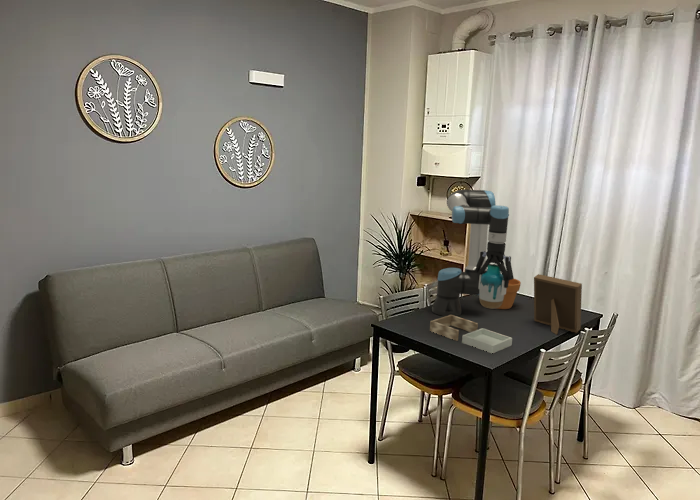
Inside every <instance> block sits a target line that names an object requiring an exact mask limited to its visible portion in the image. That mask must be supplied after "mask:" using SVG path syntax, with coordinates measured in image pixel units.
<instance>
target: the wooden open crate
mask: <svg viewBox="0 0 700 500" xmlns="http://www.w3.org/2000/svg"><path fill="white" fill-rule="evenodd" d="M478 327H479V323H478V322H475V321H471V320H469V319H466V318H462V317H459V316H454V315H448V316H442V317H439V318H435V319H434V320H430V323H429V332H430V331H431V333H433V332H434V334H436V333H437V335H439V336H441V335H442V337H444V336H445V338H447V339H451V340H452V339H453V341H456V342H458V341H459V335H460V334H459V333H460V330H464V331H466V332H468V333H470V332H473V331H476V330H479V329H478ZM456 328H458V329H456ZM459 329H460V330H459Z"/></svg>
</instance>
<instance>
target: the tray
mask: <svg viewBox="0 0 700 500" xmlns="http://www.w3.org/2000/svg"><path fill="white" fill-rule="evenodd" d="M461 344H464V345H467V346H470V347H472V346H473V347H472V348H475V347H476V349H478V350H481V351H483V350H484V352H486V351H487V353H488V354H492V353H493V354H495V353H497V352H500V351H502V350H504V349H506V348H509V347H511V346H513V345H512V344H513V337H510V336H507V335H504V334H501V333H499V332H495V331H492V330H489V329H487V328H484V327H483V328H482V327H481V328H479V329H477V330H476V331H473V332H468V333H466V334H462V337H461Z"/></svg>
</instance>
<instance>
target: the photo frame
mask: <svg viewBox="0 0 700 500" xmlns="http://www.w3.org/2000/svg"><path fill="white" fill-rule="evenodd" d="M582 288H583V283H581V282H576V281H572V280H566V279H562V278H558V277H554V276H549V275H545V274H540V273H538V274H536V275H535V276H534V277H533V312H534V313H533V314H534V315H533V319H534V320H533V321H534V322H537V323H541V324H544V325H548V326H550V332H551V333H553V334H555V335H558V333H559V329H561V330H564V329H565V331H569V332H571V333H575V334H577V333H579V331H580V330H581V328H582V321H581V320H582V293H583V292H582V291H583V289H582Z"/></svg>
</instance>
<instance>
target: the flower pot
mask: <svg viewBox="0 0 700 500" xmlns="http://www.w3.org/2000/svg"><path fill="white" fill-rule="evenodd" d="M521 285H522V282H521V281H520V280H519V279H516V278H514V279H512V280H509V285H508V288H506V294H505V295H504V299H503V303H502V305H501V306H500V307H499V308H495V309H497V310H498V309H499V310H508V309H511V308H512V306H513V305H514V303H515V299H516V297H517V294H518V292H519V291H520V288H521Z"/></svg>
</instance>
